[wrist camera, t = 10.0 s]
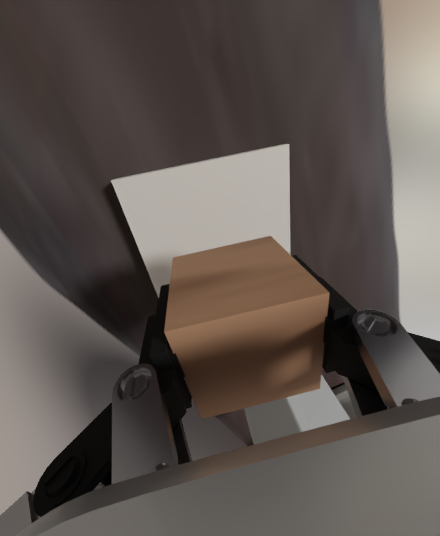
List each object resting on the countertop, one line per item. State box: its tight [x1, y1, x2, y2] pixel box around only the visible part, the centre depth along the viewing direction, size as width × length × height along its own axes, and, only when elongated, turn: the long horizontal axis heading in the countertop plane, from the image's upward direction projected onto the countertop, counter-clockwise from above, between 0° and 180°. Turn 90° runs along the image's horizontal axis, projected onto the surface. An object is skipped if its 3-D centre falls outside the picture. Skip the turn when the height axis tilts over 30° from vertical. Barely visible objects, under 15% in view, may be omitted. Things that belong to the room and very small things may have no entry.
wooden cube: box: [164, 236, 330, 419], centre depth 10 cm, size 5×5×5 cm
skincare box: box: [244, 375, 350, 444], centre depth 20 cm, size 8×6×15 cm
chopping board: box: [111, 144, 290, 298], centre depth 17 cm, size 12×12×1 cm
